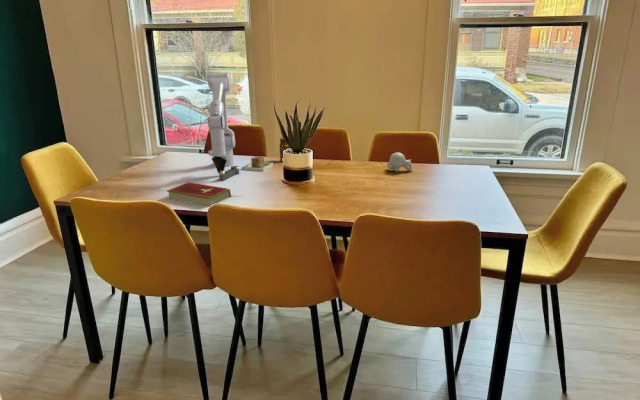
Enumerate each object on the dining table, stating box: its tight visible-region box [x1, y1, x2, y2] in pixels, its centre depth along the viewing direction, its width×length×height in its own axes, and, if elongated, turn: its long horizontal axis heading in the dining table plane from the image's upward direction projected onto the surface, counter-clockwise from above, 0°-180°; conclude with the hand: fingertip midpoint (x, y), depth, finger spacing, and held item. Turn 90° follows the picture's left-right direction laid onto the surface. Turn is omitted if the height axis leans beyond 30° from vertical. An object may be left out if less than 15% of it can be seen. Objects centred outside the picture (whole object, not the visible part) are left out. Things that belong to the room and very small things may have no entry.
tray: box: [241, 161, 274, 172], centre depth 206 cm, size 11×11×2 cm
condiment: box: [279, 137, 288, 162], centre depth 216 cm, size 7×8×12 cm
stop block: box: [250, 155, 265, 168], centre depth 206 cm, size 4×4×5 cm
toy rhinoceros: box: [386, 151, 415, 173], centre depth 199 cm, size 7×12×8 cm, turn 80°
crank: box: [218, 165, 240, 182], centre depth 192 cm, size 13×4×4 cm, turn 160°
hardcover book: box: [166, 181, 232, 207], centre depth 168 cm, size 12×21×4 cm, turn 63°
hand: (220, 173), depth 193 cm, fingers closed
